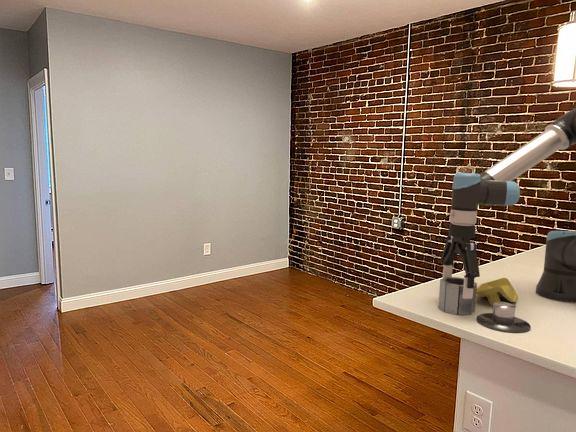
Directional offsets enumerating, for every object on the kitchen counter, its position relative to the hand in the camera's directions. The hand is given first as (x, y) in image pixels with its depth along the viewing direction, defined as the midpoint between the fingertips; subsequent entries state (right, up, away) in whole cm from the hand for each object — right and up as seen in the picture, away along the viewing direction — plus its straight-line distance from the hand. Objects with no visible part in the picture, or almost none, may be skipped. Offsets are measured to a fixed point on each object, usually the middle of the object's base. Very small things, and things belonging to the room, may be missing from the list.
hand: (456, 291), depth 136 cm
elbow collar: (0, -6, +1) cm, 6 cm away
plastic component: (+17, -5, +11) cm, 21 cm away
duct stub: (+9, -7, -10) cm, 16 cm away
